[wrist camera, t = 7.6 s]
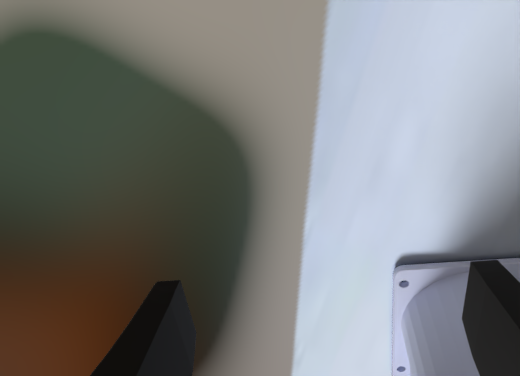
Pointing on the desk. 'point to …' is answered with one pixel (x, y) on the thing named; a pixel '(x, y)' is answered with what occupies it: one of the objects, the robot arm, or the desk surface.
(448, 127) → the desk surface
